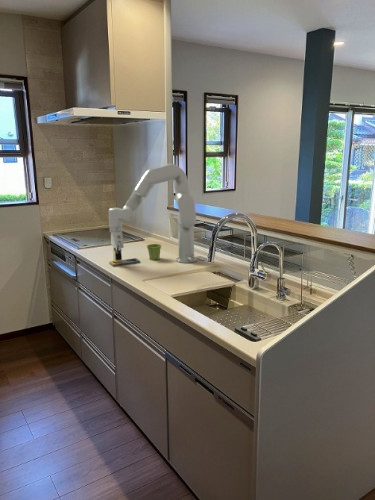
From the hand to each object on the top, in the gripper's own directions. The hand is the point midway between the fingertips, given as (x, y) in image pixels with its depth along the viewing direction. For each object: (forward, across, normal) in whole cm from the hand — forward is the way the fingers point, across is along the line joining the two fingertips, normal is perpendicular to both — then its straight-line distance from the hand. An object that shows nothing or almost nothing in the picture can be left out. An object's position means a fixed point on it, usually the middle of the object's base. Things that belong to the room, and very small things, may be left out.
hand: (117, 258), depth 243 cm
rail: (+4, 0, -4) cm, 6 cm away
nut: (+3, 0, 0) cm, 3 cm away
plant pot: (+4, 0, -24) cm, 24 cm away
